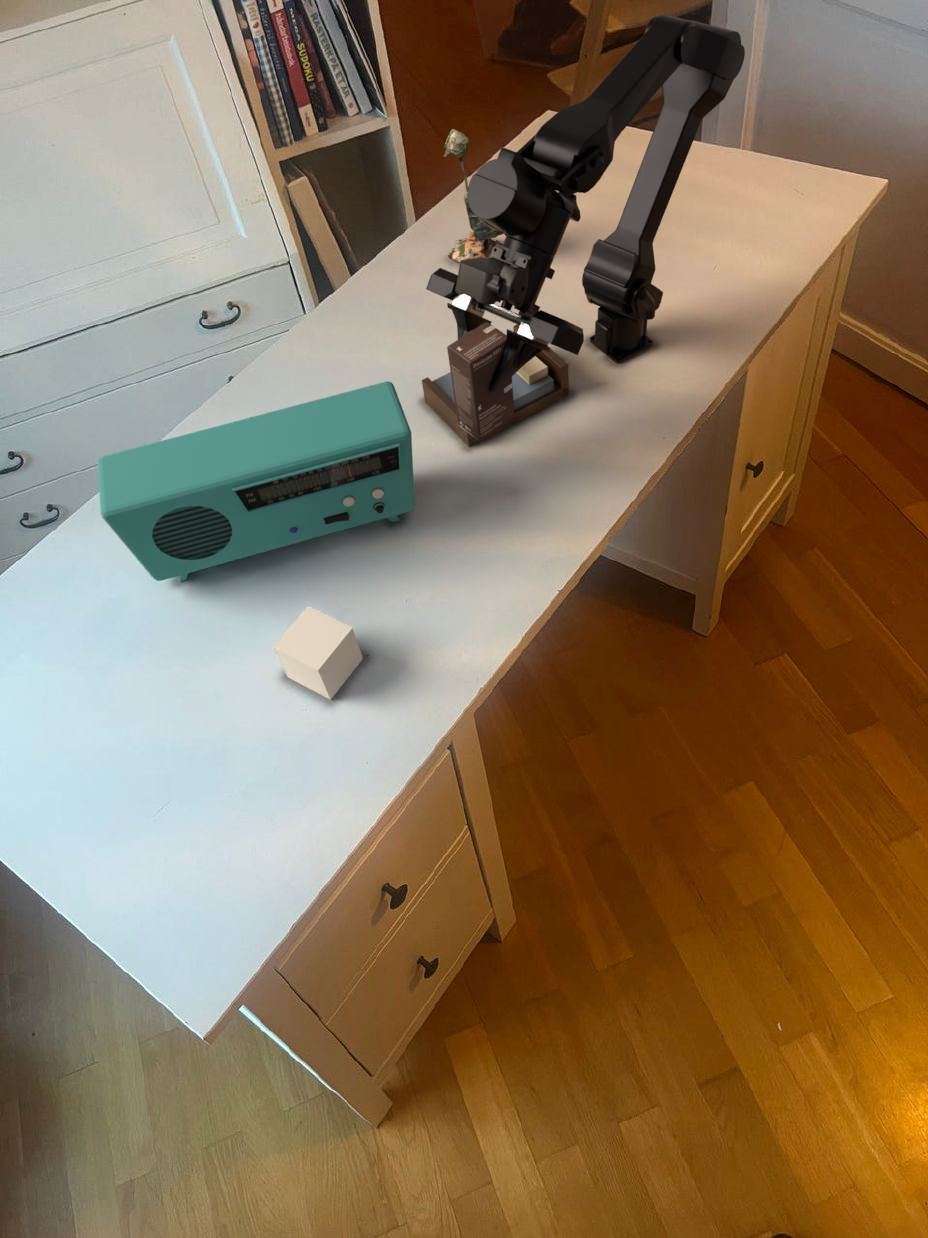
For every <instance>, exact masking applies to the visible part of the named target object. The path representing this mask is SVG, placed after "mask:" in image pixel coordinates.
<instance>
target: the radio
mask: <svg viewBox="0 0 928 1238" xmlns="http://www.w3.org/2000/svg"><path fill="white" fill-rule="evenodd" d="M405 414H406V413H405V412H404V409H403V406H402V404H401V401H400V398H399V396H398V392H397V390H396V388H395V385H394V383H393V382H391V381H383V382H380V383H375V384H372V385H368V386H364V387H360V388H357V389H353V390H349V391H344V392H341V393H338V394H333V395H330V396H326V397H321V398H319V399H315V400H311V401H307V402H304V403H299V404H295V405H292V406H289V407H285V408H281V409H277V410H273V411H270V412H266V413H262V414H258V415H255V416H251V417H247V418H243V419H238V420H236V421H232V422H228V423H224V424H220V425H217V426H213V427H208V428H204V429H201V430H198V431H193V432H190V433H187V434H183V435H182V434H181V435H178V436H175V437H171V438H168V439H167V438H166V439H164V440H159V441H156V442H153V443H148V444H144V445H141V446H137V447H133V448H128V449H125V450H121V451H118V452H114V453H111V454H107V455H103V456H100V457H99V458H98V460H97V475H98V491H99V494H98V495H99V509H100V515H101V517H102V519H103V520H104V522H105V523H106V524H107V526H108V527H109V528H110V529H111V530H112V532H113V533H114V534H115V535H116V536H117V537H118V538H119V540H120V541H121V542H122V543H123V545H125V547H126V548H127V549H128V550H129V551H130V553H131V554H132V555H133V556H134V557H135V559H136V560H137V561H138V562H139V564H141V566H142V567H143V568H144V570H146V572H147V573H148V574H149V575H150V576H151V578H152V579H154V580H155V581H157V582H161V581H166V580H169V579H172V578H177V577H178V579H179V580H178V581H179V582H183V581H186V580H187V579H188V575H189V574H190V573H193V572H197V571H201V570H204V569H208V568H211V567H215V566H219V565H222V564H226V563H229V562H233V561H237V560H240V559H244V558H248V557H251V556H255V555H259V554H262V553H265V552H270V551H273V550H277V549H279V548H284V547H287V546H291V545H295V544H299V543H302V542H305V541H309V540H313V539H316V538H320V537H323V536H326V535H331V534H334V533H337V532H340V531H344V530H348V529H352V528H356V527H360V526H362V525H363V526H364V525H366V524H370V523H374V522H376V521H381V520H384V519H386V520H387V519H388V520H389V521H391V522H392V523H394V522H399V521H400V517H399V516H398V515H402V514H406V513H409V512H411V511H413V510H414V508H415V485H414V484H415V483H414V463H413V462H414V461H413V441H412V440H413V439H412V430H411V428H410V424H409V423H408V420H407V417H406V415H405Z"/></svg>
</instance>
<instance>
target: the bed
mask: <svg viewBox="0 0 928 1238" xmlns="http://www.w3.org/2000/svg"><path fill="white" fill-rule="evenodd" d="M519 326H520V325H518V324H515V325H514V326H513V327H512V328H513V329H512V330H513V332H515V333H517V331H518V329H519ZM569 371H570V369H569V363H568V362H567V361H566V360H565V359H564V358H562V357H561V356H560V355H559V354H558V353H557V352H556V351H554V350H553V349H552V348H551V349H550V351H549V352H548V351H545V350H542V351H541V352H540V353H539V354H537V355H536V356H535V357H534V358H532V359H531V360H530V361H529V362H527V363H526V364H525V365H524V366H523V367H521V368H520V369H519V370H518V371H517V372H516V373H515V374H514V375H513V376H512V387H513V401H514V417H513V418H512V419H510V420H508V421H507V422H505V423H504V424H502V425H501V426H499V427H498V428H496V429H495V430H494V431H492V432H491V433H489V434H488V435H487V436H485V437H484V438H482V439H481V440H477V439H476V438H474V437H473V436H472V435H470V434H469V433H467V432H466V431H465V430H464V429H462V428H461V427H460V426H459V425H458V421H457V414H456V407H455V399H454V392H453V385H452V378H451V371H450V372H448V373H446V374H444V375H441V376H440V377H437V378H435V379H433V380H431V379H430V377H429V376H428V377H425V378H423V379H421V384H422V391H423V396H424V403H425V404H426V405H427V406H428V407H429V408H430V409H431V410H432V411H433V412H434V413H435V414H436V415H437V417H439V418H440V419H441V420H442V421H443V423H445V424H446V425H447V427H449V428H450V429H451V430H452V432H453V433H455V435H456V436H457V437H458V438H459V439H460V440H461V441H462V442H463V443H464V444H465V445H466V446H467V448H470V447H472V446H474V445H475V444H477V443H480V442H481V441H483V440H485V439H487V438H489V437H491V436H492V435H495V434H497V433H499V432H500V431H503V430H504V429H507V428H508V427H510V426H512V425H514V424H515V423H517V422H519V421H521V420H523V419H525V418H527V417H529V416H531V415H532V414H535V413H538V412H539V411H540V410H543V409H544V408H546V407H549V406H550V405H552V404H554V403H555V402H558V401H560V400H562V399H563V398H565V397H568V396H569V376H570V375H569V373H570V372H569Z"/></svg>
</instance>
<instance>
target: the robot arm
mask: <svg viewBox="0 0 928 1238" xmlns="http://www.w3.org/2000/svg"><path fill="white" fill-rule="evenodd" d="M745 49H746V48H745V46H744V45H743V44H742V37H741V34H740V32H739V31H737V30H732V29H728V28H724V27H720V26H717V25H713V24H708V23H704V22H700V21H697V20H692V19H690V20H689V19H684V18H681V17H677V16H674V15H673V16H672V15H669V14H664V13H663V14H660V15H654V16H653V17H652V18H650V21H649V22H648V24H647V26H646V28H645V30H644V34H643V35H642V36H641V38H640V39H639V40H638V41H637V42H636V43H635V44H634V45H633V46H632V47H631V49H630V50H629V51H628V52H626V54H625V55H624V57H622V59H621V60H620V61H619V62H618V63H617V64H616V66H615V67H614V68H612V70H611V71H610V72H609V73H608V75H606V77H605V78H604V79H603V80H602V81H601V83H600V84H598V85H597V87H596V88H595V89H594V90H593V92H591V94H590V95H589V96H588V97H587V98H585V99H584V100H583V101H581V102H578V103H576V104H573V105H570V106H567V107H564V108H562V109H560V110H559V111H558V112H557V113H555V114H554V115H553V116H552V117H550V119H548V120H547V121H546V122H544V124H543V125H541V126H540V128H539V129H538V131H537V132H536V133H535V134H534V135H533V136H532V137H531V138H530V139H529V140H528V141H527V142H526V143H525V144H523V146H522V147H521V148H519V149H518V150H517V151H514V150H511V149H509V148H507V147H501V148H500V150H499V153H498V154H497V158H494V159H492V160H489V161H487V162H485V163H483V164H482V165H481V166H480V167H479V168H478V169H477V171H476V172H475V173H474V174H472V176H471V178H470V180H469V183H468V194H467V197H468V203H469V206H470V209H471V210H472V212H473V213H474V214H475V215H476V216H477V217H479V218H481V219H482V220H484V221H486V222H487V223H489V224H491V225H492V226H494V227H496V228H497V229H499V230H501V231H502V232H504V233H506V234H507V236H505V239H504V241H503V242H504V243H503V245H500V244H497V243H496V245H495V247H493V249H492V251H491V254H490V256H489V257H488V258H482V257H480V258H472V259H466V260H461V261H460V262H459V267H458V273H457V274H456V273H453V272H451V271H449V270H446V269H444V268H442V267H439V268H438V269H436V270H435V271H434V272H433V273H432V274H431V275H430V277H429V280H428V282H427V286H426V288H425V290H427V291H429V292H431V293H434V294H435V295H438V296H440V297H443V298H445V299H447V300H450V301H451V303H449V302H447V305H446V306H447V309H449V310H451V311H452V314H453V317H454V319H455V322H456V329H457V330H456V331H457V340H458V339H460V338H461V337H462V336H463V335H464V334H466V333H467V332H469V331H471V330H474V329H476V328H477V327H479V326H480V325H482V324H484V323H485V322H488V323H490V324H491V325H492V321H491V320H489V319H488V318H484V315H485V313H486V312H488V313H490V314H493V315H495V316H496V317H499V318H501V319H504V320H506V321H509V322H511V323H513V324H515V325H517V324H518V325H520V326H519V329H518V331H517V333H515V332H514V330H511V329H509V328H508V329H506V335H507V339H506V347H505V350H504V352H503V354H502V357H501V359H500V361H499V364H498V366H497V368H496V371H495V373H494V375H493V378H492V381H491V384H490V387H489V391H490V392H492V393H496V392H497V391H498V390H499V389H500V388H501V387H502V386H503V385H504V384H505V383H506V382H507V381H508V380H509V379H510V378H511V377H512V376H513V375H514V374H515V373H516V372H517V371H518V370H519V369H520V368H521V367H523V366H524V365H525V364H526V363H527V362H529V361H530V360H531V359H532V358H534V357H535V356H536V355H537V354H539V353H540V352H541V351H542V350H545V351H548V352H549V351H550V349H552V348H551V347H550V346H549V345H553V346H555V347H557V348H559V349H561V350H564V351H566V352H569V353H570V354H574V355H576V356H578V355H579V354H580V351H581V348H582V346H583V344H584V342H585V334H584V328H582V327H580V326H578V325H576V324H574V323H572V322H569V321H568V320H565V319H563V318H562V317H561V318H560V317H558V316H556V315H554V314H551V313H549V312H546V311H544V310H542V309H540V308H541V306H540V305H537V304H536V303H537V300H538V297H539V296H540V294H541V291H542V288H543V286H544V283H545V282H546V281H545V280H546V279H549V280H553V277H554V275H555V273H556V270H555V269H554V268H551V267H552V264H553V261H554V258H555V257H556V254H557V252H558V249H559V247H560V245H561V242H562V239H563V237H564V234H565V232H566V230H567V227H568V225H569V222H570V221H573V222H577V223H578V222H580V220H581V210H580V207H579V205H578V201H577V195H576V194H577V193H580V194H586V193H589V192H590V191H591V190H592V189H593V188H594V187H595V186H596V185H597V184H598V182H599V181H600V180H601V179H602V177H603V175H604V173H605V172H606V171H607V169H608V168H609V166H610V165H611V164H612V162H613V161H614V151H615V144H616V141H617V139H618V138H619V136H621V134H622V132H624V130H625V129H626V128H627V126H628V125H629V124H630V123H631V122H632V121H633V120H634V119H635V117H636V116H637V115H638V114H639V113H640V112H641V110H642V109H644V107H645V106H646V105H647V104H648V103H649V101H650V100H651V99H652V98H653V97H654V95H656V93H657V92H658V91H659V90H660V89H661V91H662V99H663V100H662V101H663V104H662V108H661V111H660V112H659V116H658V118H657V120H656V123H655V126H654V129H653V131H652V134H651V137H650V139H649V142H648V144H647V147H646V150H645V153H644V154H643V157H642V160H641V163H640V165H639V168H638V171H637V173H636V176H635V179H634V182H633V184H632V187H631V190H630V192H629V194H628V197H627V201H626V203H625V205H624V208H623V211H622V213H621V216H620V219H619V221H618V224H617V227H616V229H615V230H614V231H613V232H611V234H609V235H608V236H607V237H606V238H605V239H603V240H602V239H601V238H599V239H597V240H596V241H595V242H594V244H593V245H592V249H591V252H590V255H589V258H588V260H587V263H586V264H585V266H584V267H583V272H582V278H581V286H582V287H583V290H584V294H585V296H586V299H587V302H588V303H589V304H592V305H595V306H597V307H598V308H597V319H596V320H595V322H594V323H595V324H594V334H593V335H591V336H590V337H589V342H590V343H591V344H592V345H593V346H594V347H595V348H597V349H598V350H599V351H601V352H602V353H603V354H604V355H606V356H607V357H608V358H609V359H611V360H612V361H613V362H614V363H615V364H620V363H622V362H624V361H626V360H628V359H630V358H631V357H633V356H635V355H638V354H639V353H641V352H643V351H645V350H647V349H649V348H651V347H652V346H653V345H654V340H653V339H652V338H651V337H649V336H648V335H647V330H648V321H650V320H653V319H654V318H655V317H656V311H657V310H658V309H660V307H661V303H662V299H663V296H664V291H662V290H661V289H660V288H658V287H657V286H655V285H654V284H653V283H652V281H653V278H654V275H655V272H656V260H655V251H654V244H653V243H654V241H655V238H656V235H657V233H658V231H659V228H660V225H661V224H662V223H661V222H662V220H663V218H664V216H665V213H666V211H667V208H668V205H669V203H670V200H671V198H672V195H673V193H674V190H675V188H676V185H677V184H678V180H679V178H680V174H681V173H682V170H683V168H684V165H685V163H686V160H687V158H688V155H689V153H690V151H691V147H692V145H693V142H694V140H695V138H696V135H697V132H698V130H699V127H700V125H701V122H702V121H703V119H704V118H705V117H706V116H707V115H708V114H710V112H712V110H713V109H715V108H716V107H717V106H719V104H720V103H721V102H723V101H724V99H725V98H726V96H727V95H728V92H729V91H730V89H731V86H732V84H733V82H734V81H735V79H736V78H737V77H738V75H739V74H740V72H741V69H742V68H743V65H744V61H745V56H746V52H745V51H746V50H745ZM496 303H501V305H497V304H496ZM512 308H513V309H515V310H517V311H518V313H516V312H514V311H512Z"/></svg>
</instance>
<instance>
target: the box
mask: <svg viewBox="0 0 928 1238" xmlns="http://www.w3.org/2000/svg"><path fill="white" fill-rule="evenodd" d="M506 339H507V334H506V333H504V332H503V331H501V330H499V329H498V328H497V327H495V326H494V325H493V324H492V323H491V324H490V323H488V322H485V323H484V324H482V325H480V326H479V327H477V328H476V329H474V330H471V331H469V332H467V333H466V334H464V335H463V336H462V337H461V338H460V339H458V338H457V340H455V341H454V342H452V343H450V344H449V345H447V346H446V349H447V356H448V363H449V370H450V372H451V378H452V385H453V392H454V399H455V407H456V414H457V421H458V425H459V426H460V427H461V428H462V429H464V430H465V431H466V432H467V433H469V434H470V435H472V436H473V437H474V438H476V439H477V440H481V439H482V438H484V437H485V436H487V435H488V434H489V433H491V432H492V431H494V430H495V429H496V428H498V427H499V426H501V425H502V424H504V423H505V422H507V421H508V420H510V419H512V418H513V417H514V401H513V387H512V377H511V378H510V379H509V380H508V381H507V382H506V383H505V384H504V385H503V386H502V387H501V388H500V389H499V390H498V391H497V392H496V393H492V392H490V391H489V387H490V384H491V381H492V378H493V375H494V373H495V371H496V368H497V366H498V364H499V361H500V359H501V357H502V354H503V352H504V350H505V347H506ZM481 441H482V440H481Z"/></svg>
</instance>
